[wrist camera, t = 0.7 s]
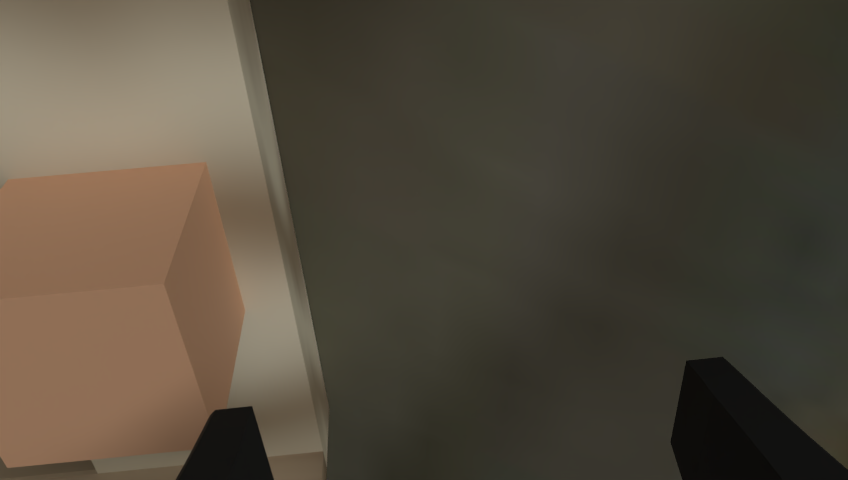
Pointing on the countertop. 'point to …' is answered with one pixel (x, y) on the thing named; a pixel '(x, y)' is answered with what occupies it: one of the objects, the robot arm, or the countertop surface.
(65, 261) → the block
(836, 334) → the countertop surface
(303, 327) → the mottled shallow tray
